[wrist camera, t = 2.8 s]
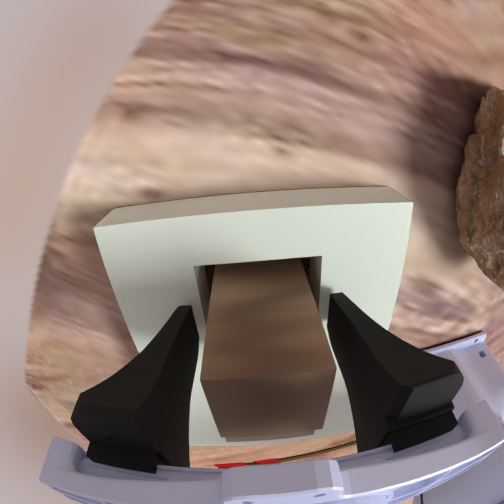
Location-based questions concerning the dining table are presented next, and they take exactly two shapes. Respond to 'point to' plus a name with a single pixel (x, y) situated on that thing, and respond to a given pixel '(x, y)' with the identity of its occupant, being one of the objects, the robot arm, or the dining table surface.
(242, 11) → the dining table surface
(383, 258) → the board
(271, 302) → the block
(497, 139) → the rock
